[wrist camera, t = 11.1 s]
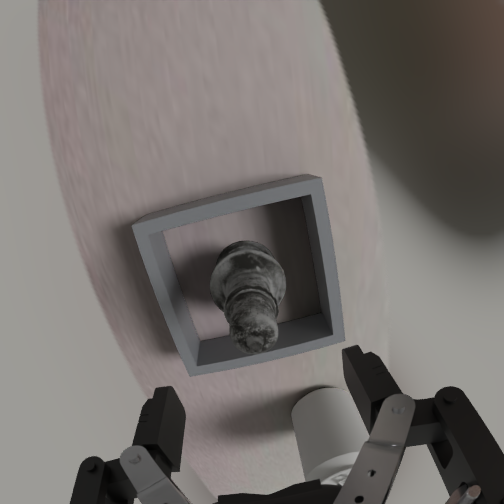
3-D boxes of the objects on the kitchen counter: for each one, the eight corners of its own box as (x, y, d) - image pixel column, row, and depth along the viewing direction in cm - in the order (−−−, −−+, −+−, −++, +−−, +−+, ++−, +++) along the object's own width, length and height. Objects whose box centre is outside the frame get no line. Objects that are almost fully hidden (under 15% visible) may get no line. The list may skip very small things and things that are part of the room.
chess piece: (242, 312, 28) (250, 405, 17) (198, 267, 27) (177, 347, 15) (293, 272, 28) (332, 351, 16) (249, 223, 26) (264, 278, 14)
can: (298, 431, 34) (316, 508, 23) (281, 396, 32) (299, 483, 21) (354, 411, 34) (385, 484, 23) (345, 373, 32) (382, 454, 20)
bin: (145, 214, 25) (131, 225, 21) (308, 174, 25) (321, 177, 21) (193, 351, 29) (189, 376, 26) (332, 318, 29) (345, 340, 25)
